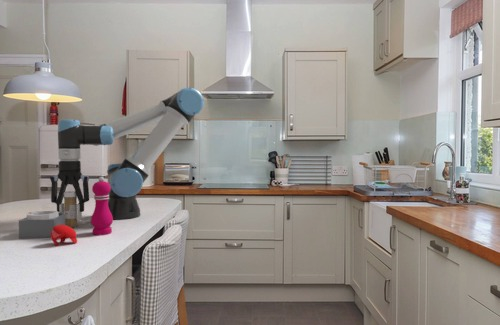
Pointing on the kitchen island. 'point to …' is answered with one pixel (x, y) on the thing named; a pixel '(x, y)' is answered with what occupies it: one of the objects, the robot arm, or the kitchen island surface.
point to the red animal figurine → (63, 234)
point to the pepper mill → (101, 208)
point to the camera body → (40, 224)
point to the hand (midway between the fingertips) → (70, 220)
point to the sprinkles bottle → (70, 208)
